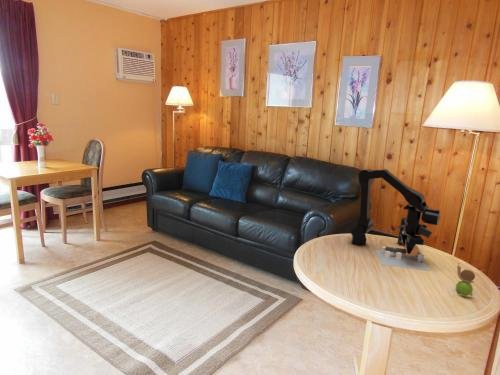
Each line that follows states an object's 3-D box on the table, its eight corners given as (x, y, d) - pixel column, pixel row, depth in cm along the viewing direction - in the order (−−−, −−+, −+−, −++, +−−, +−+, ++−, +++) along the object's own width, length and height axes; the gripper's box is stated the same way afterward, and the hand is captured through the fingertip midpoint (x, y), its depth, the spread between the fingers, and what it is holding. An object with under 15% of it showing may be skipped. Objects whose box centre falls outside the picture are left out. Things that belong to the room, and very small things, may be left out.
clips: (384, 257, 157) (385, 251, 157) (381, 252, 164) (382, 246, 163) (400, 259, 156) (401, 253, 156) (397, 254, 163) (397, 248, 162)
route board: (382, 267, 150) (382, 265, 149) (373, 251, 167) (374, 249, 167) (429, 273, 147) (430, 270, 147) (416, 256, 164) (417, 254, 164)
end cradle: (417, 262, 155) (418, 255, 154) (411, 255, 162) (412, 248, 162) (422, 262, 154) (424, 255, 154) (417, 255, 162) (418, 248, 161)
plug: (386, 252, 158) (387, 244, 157) (384, 249, 162) (385, 241, 161) (417, 256, 156) (419, 248, 155) (414, 253, 160) (416, 245, 159)
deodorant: (397, 247, 174) (402, 219, 171) (396, 243, 180) (400, 216, 177) (410, 249, 173) (415, 221, 169) (408, 245, 178) (413, 218, 175)
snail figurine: (453, 288, 135) (459, 260, 132) (472, 294, 131) (478, 265, 128) (450, 293, 130) (456, 264, 128) (470, 299, 126) (476, 270, 124)
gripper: (439, 228, 145) (433, 262, 148) (424, 216, 163) (418, 246, 166) (412, 225, 146) (406, 259, 150) (400, 213, 164) (395, 243, 168)
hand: (407, 251), depth 158 cm, fingers closed on plug, 4 cm apart
